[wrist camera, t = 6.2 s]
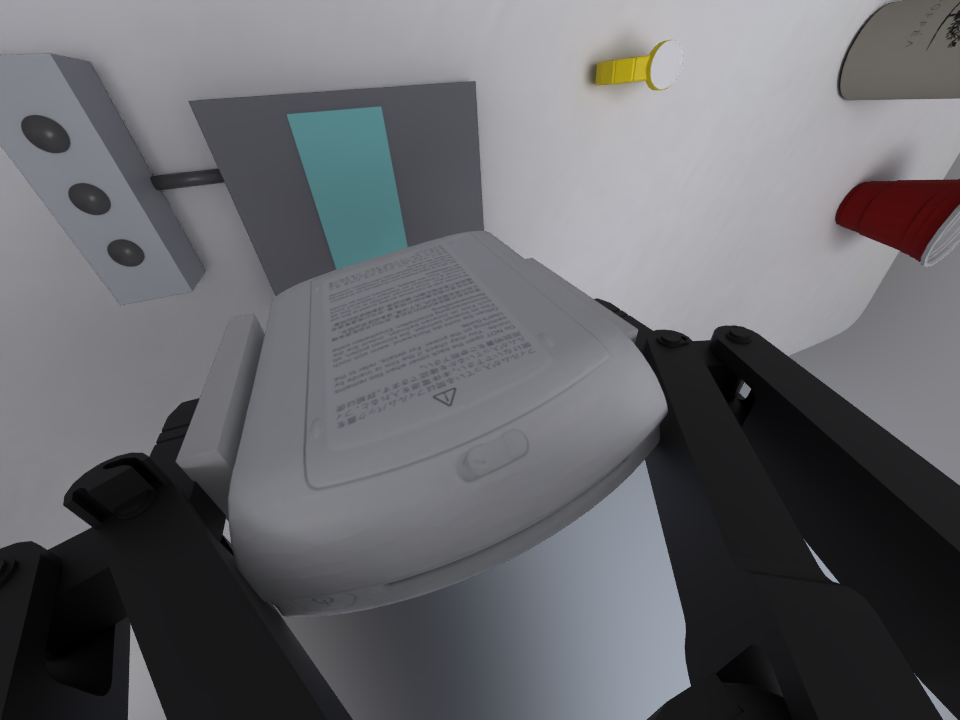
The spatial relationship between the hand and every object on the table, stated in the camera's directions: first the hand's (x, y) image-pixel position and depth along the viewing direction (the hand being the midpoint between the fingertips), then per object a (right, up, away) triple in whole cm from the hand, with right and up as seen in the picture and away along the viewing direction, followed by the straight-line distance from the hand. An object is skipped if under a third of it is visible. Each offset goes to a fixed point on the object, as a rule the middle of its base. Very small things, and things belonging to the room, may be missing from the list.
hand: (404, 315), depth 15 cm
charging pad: (-6, +11, +14) cm, 18 cm away
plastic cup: (+57, +21, +37) cm, 71 cm away
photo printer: (-1, +1, +2) cm, 2 cm away
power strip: (-17, +10, +9) cm, 22 cm away
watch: (+14, +22, +15) cm, 31 cm away
